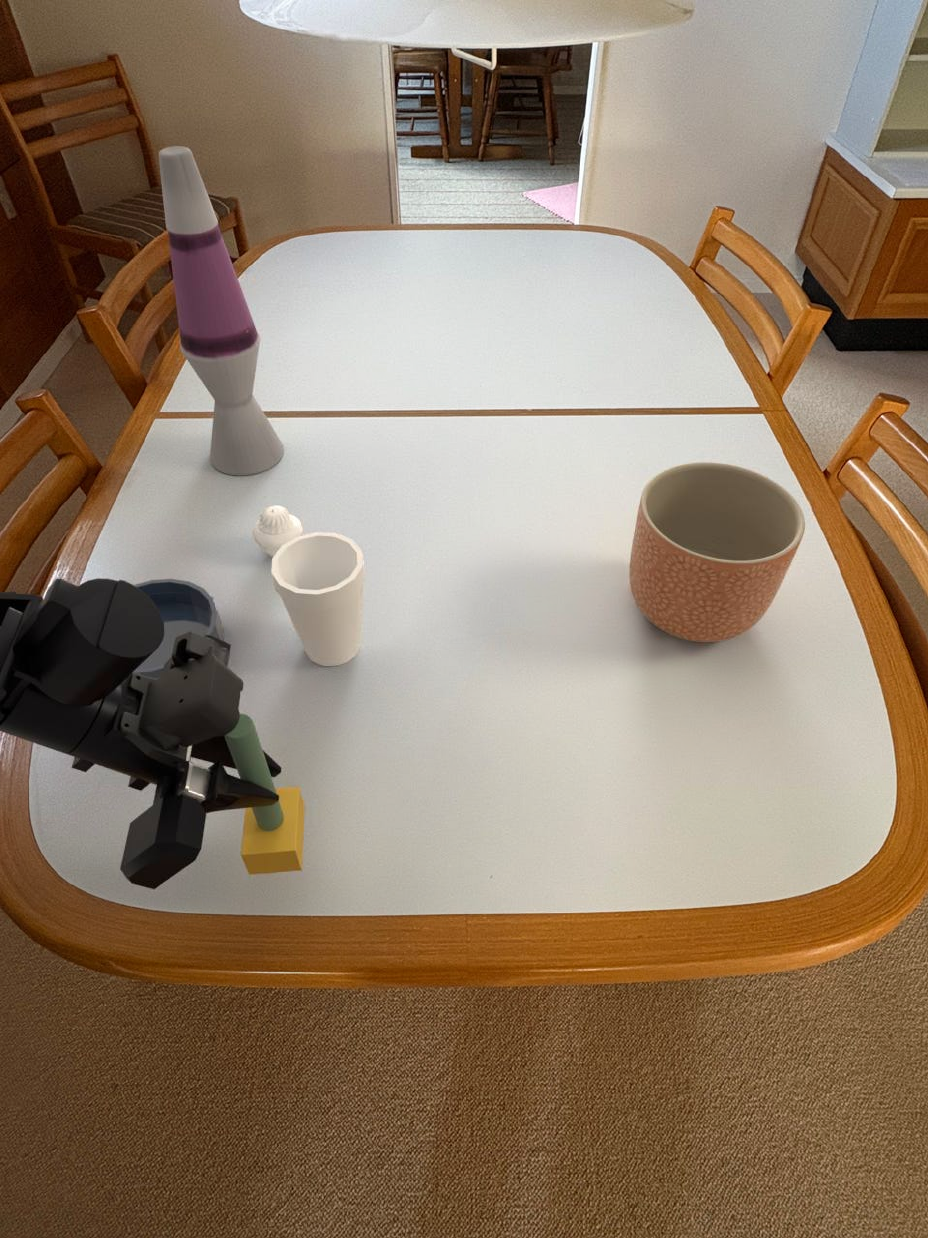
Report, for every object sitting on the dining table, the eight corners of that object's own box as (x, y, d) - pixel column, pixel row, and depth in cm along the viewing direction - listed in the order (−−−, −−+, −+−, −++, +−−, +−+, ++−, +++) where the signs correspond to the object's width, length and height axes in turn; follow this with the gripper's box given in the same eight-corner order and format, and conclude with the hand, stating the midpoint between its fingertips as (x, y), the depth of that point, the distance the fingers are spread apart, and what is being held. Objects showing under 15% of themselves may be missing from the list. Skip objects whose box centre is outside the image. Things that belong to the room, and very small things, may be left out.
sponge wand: (249, 875, 66) (200, 763, 54) (255, 811, 70) (211, 694, 58) (301, 870, 66) (265, 758, 54) (305, 807, 70) (272, 690, 58)
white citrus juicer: (312, 538, 103) (304, 495, 98) (298, 570, 99) (289, 527, 93) (266, 533, 103) (256, 491, 98) (251, 565, 99) (239, 522, 94)
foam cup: (352, 686, 86) (339, 603, 76) (277, 665, 88) (254, 582, 78) (385, 625, 92) (377, 542, 83) (314, 607, 94) (297, 524, 85)
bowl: (104, 712, 84) (91, 690, 81) (89, 623, 92) (77, 600, 90) (236, 669, 88) (229, 647, 85) (210, 588, 96) (202, 565, 94)
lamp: (205, 441, 118) (120, 140, 89) (277, 427, 120) (217, 130, 91) (215, 482, 111) (126, 171, 82) (290, 467, 113) (230, 159, 84)
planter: (794, 618, 93) (839, 518, 82) (698, 686, 86) (733, 587, 75) (685, 542, 102) (712, 443, 91) (590, 598, 95) (607, 498, 84)
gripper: (116, 781, 43) (340, 857, 52) (170, 554, 56) (343, 646, 65) (25, 860, 48) (243, 917, 57) (94, 635, 61) (263, 710, 70)
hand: (277, 786), depth 62 cm, fingers closed on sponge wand, 2 cm apart
